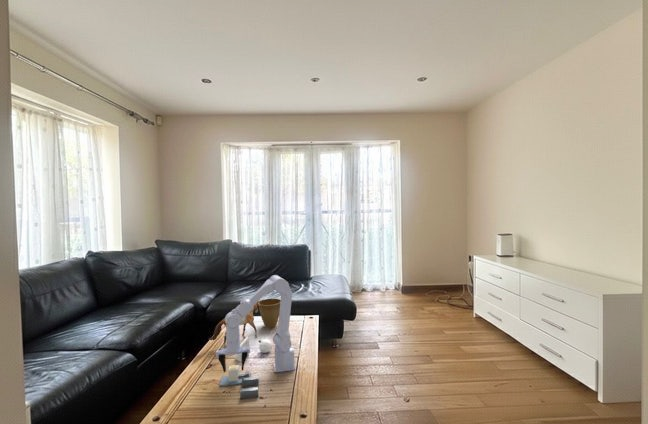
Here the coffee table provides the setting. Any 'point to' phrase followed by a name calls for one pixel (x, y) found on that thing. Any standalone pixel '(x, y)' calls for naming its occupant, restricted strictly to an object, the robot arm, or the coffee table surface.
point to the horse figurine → (245, 320)
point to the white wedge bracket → (243, 344)
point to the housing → (249, 391)
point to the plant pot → (269, 311)
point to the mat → (226, 381)
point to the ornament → (265, 346)
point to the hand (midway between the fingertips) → (233, 370)
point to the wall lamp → (235, 373)
